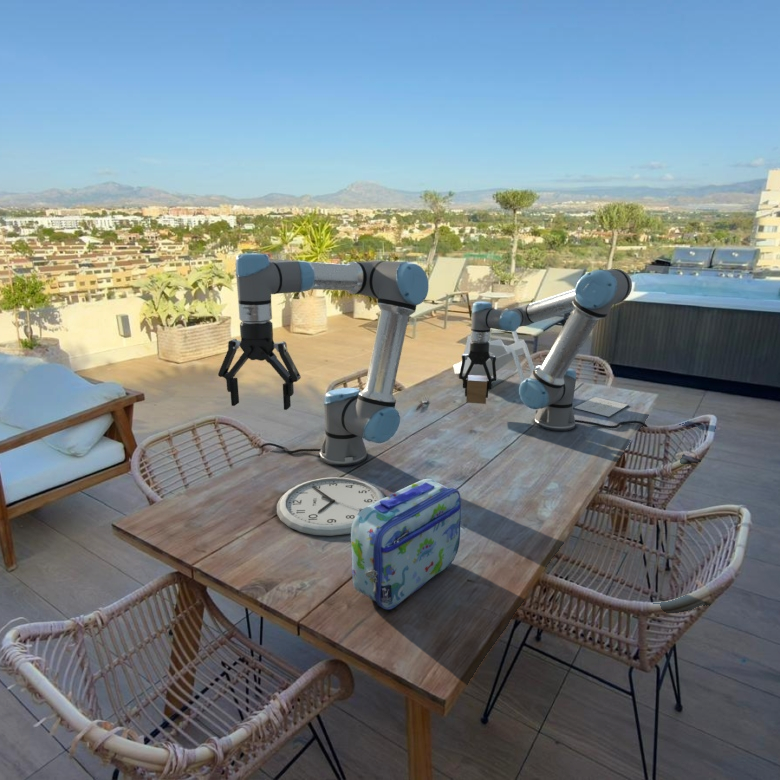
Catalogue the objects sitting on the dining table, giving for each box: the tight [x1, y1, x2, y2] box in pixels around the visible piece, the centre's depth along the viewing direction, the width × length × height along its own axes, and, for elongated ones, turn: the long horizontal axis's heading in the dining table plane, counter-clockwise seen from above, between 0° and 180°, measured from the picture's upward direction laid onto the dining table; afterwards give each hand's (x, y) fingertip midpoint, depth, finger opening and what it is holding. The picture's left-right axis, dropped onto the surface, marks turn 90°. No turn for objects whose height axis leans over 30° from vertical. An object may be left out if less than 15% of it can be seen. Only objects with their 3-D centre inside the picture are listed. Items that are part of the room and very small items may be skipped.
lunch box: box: [350, 478, 462, 611], centre depth 110 cm, size 26×11×21 cm, turn 135°
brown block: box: [465, 375, 488, 405], centre depth 213 cm, size 8×8×9 cm
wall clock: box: [276, 476, 386, 537], centre depth 142 cm, size 30×2×30 cm
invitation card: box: [573, 396, 629, 418], centre depth 226 cm, size 21×1×15 cm
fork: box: [415, 395, 430, 410], centre depth 224 cm, size 3×16×2 cm, turn 160°
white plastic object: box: [452, 307, 535, 384], centre depth 254 cm, size 37×45×31 cm
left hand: (261, 406), depth 130 cm, fingers open, 13 cm apart
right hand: (476, 396), depth 213 cm, fingers closed on brown block, 8 cm apart
